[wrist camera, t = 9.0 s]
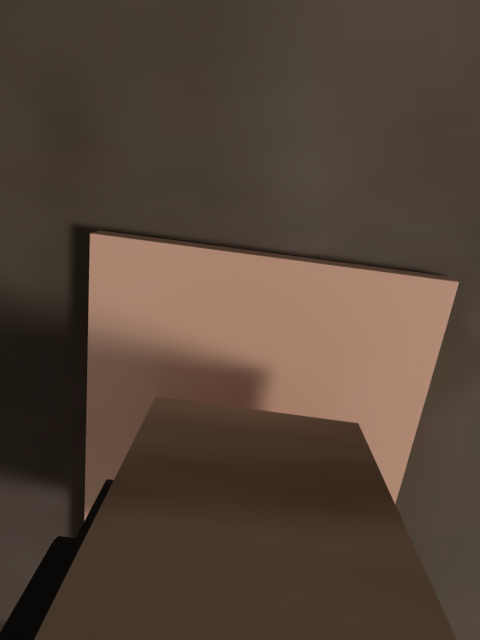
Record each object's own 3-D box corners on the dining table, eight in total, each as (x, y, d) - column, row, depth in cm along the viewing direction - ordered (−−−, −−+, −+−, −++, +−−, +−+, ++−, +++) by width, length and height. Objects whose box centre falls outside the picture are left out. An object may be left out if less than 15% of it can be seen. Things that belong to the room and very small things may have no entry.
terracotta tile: (100, 230, 12) (89, 233, 12) (446, 276, 12) (459, 282, 12) (91, 556, 16) (83, 575, 15) (358, 591, 16) (364, 612, 15)
